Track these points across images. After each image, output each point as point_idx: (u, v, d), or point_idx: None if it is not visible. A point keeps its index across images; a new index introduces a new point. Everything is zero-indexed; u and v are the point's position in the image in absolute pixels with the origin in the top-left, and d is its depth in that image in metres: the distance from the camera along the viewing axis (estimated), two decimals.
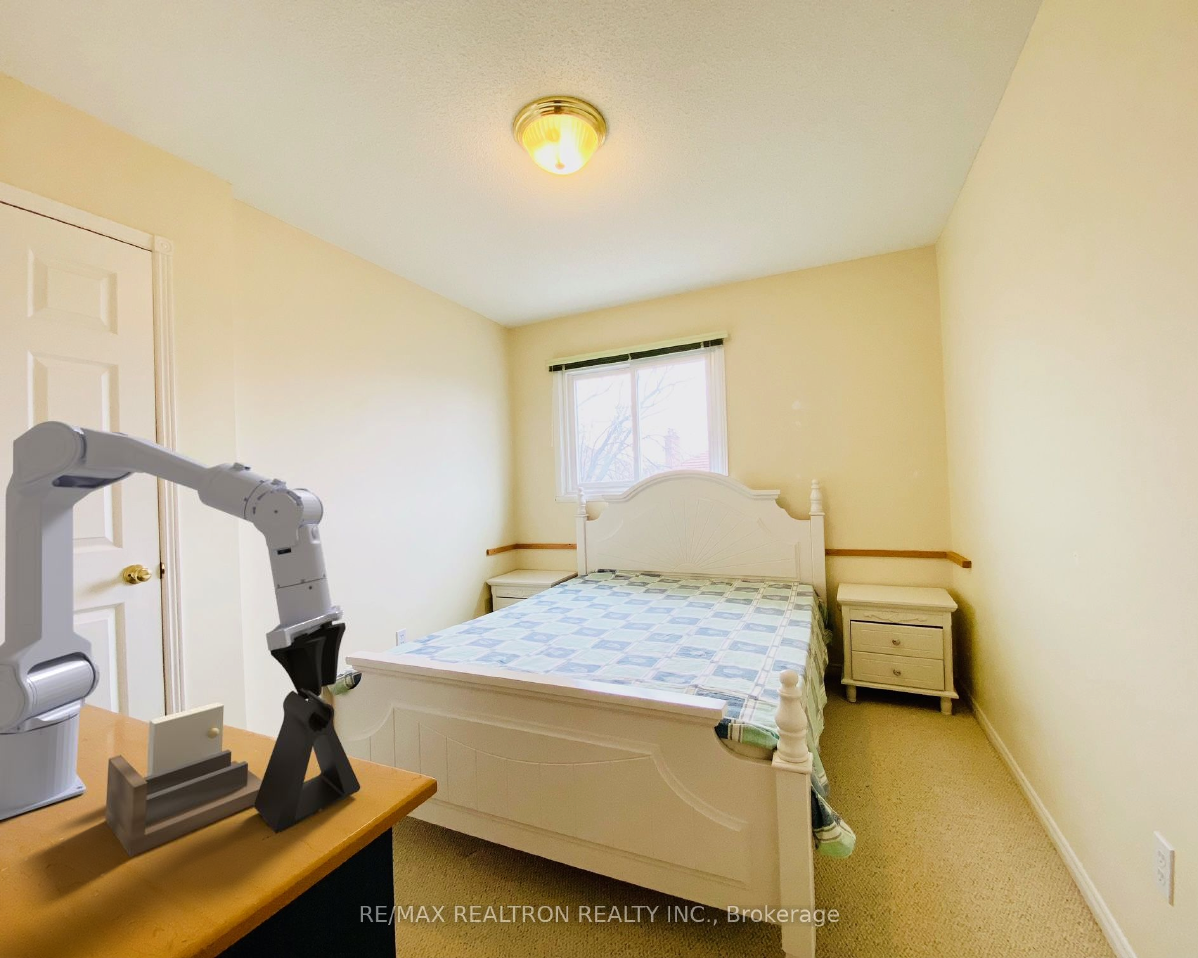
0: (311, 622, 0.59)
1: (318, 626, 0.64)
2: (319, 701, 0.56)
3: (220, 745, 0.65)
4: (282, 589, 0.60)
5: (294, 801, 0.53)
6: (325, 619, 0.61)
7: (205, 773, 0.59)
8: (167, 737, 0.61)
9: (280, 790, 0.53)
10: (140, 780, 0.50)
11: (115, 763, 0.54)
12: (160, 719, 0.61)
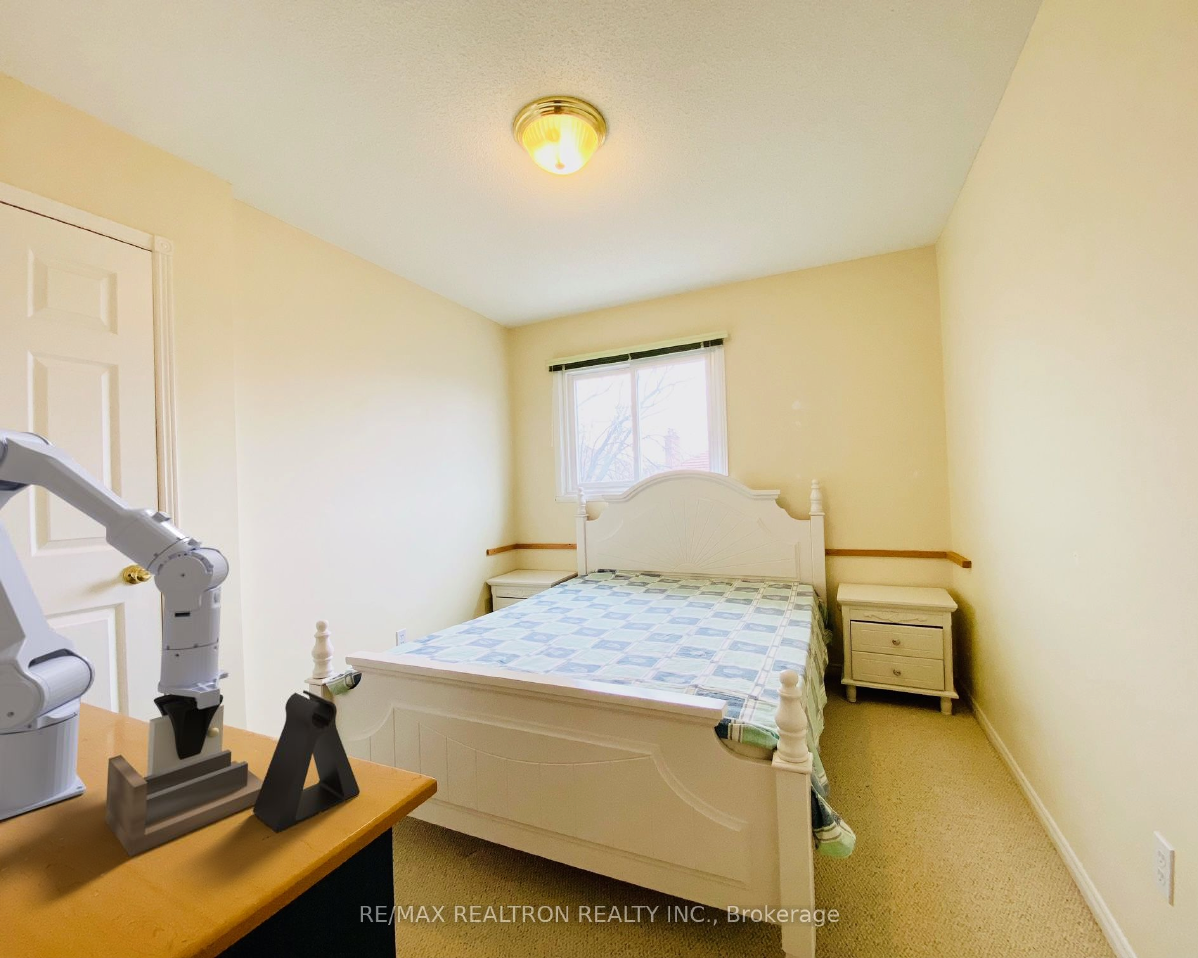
0: (218, 681, 0.64)
1: None
2: (322, 700, 0.57)
3: (220, 745, 0.65)
4: (189, 650, 0.62)
5: (295, 800, 0.53)
6: (219, 679, 0.65)
7: (205, 773, 0.59)
8: (167, 737, 0.61)
9: (281, 789, 0.54)
10: (140, 780, 0.50)
11: (115, 763, 0.54)
12: (160, 719, 0.62)
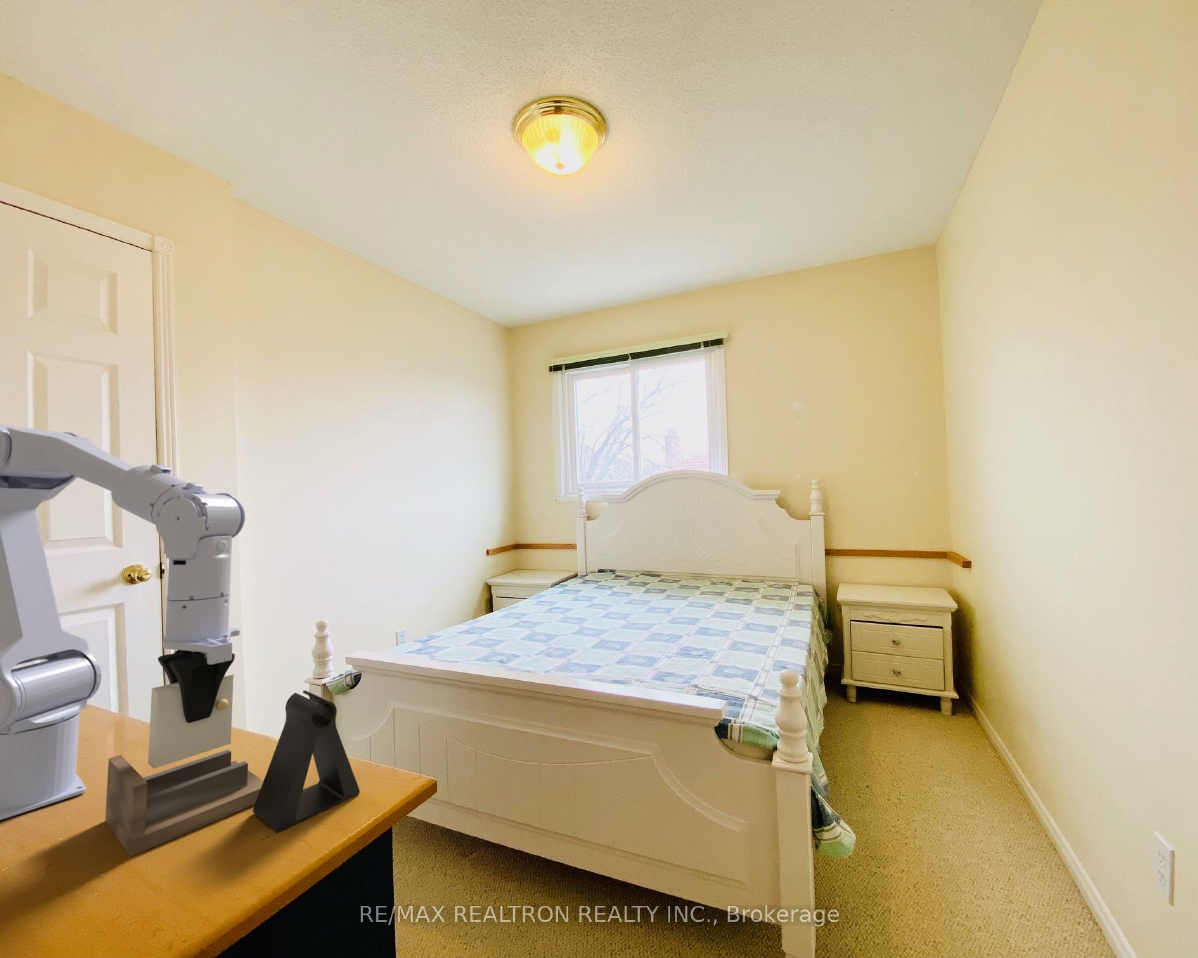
0: (229, 637, 0.58)
1: None
2: (322, 699, 0.57)
3: (229, 718, 0.59)
4: (198, 602, 0.56)
5: (295, 800, 0.53)
6: (230, 636, 0.59)
7: (205, 773, 0.59)
8: (171, 707, 0.55)
9: (282, 789, 0.54)
10: (140, 780, 0.50)
11: (115, 763, 0.54)
12: (164, 687, 0.55)
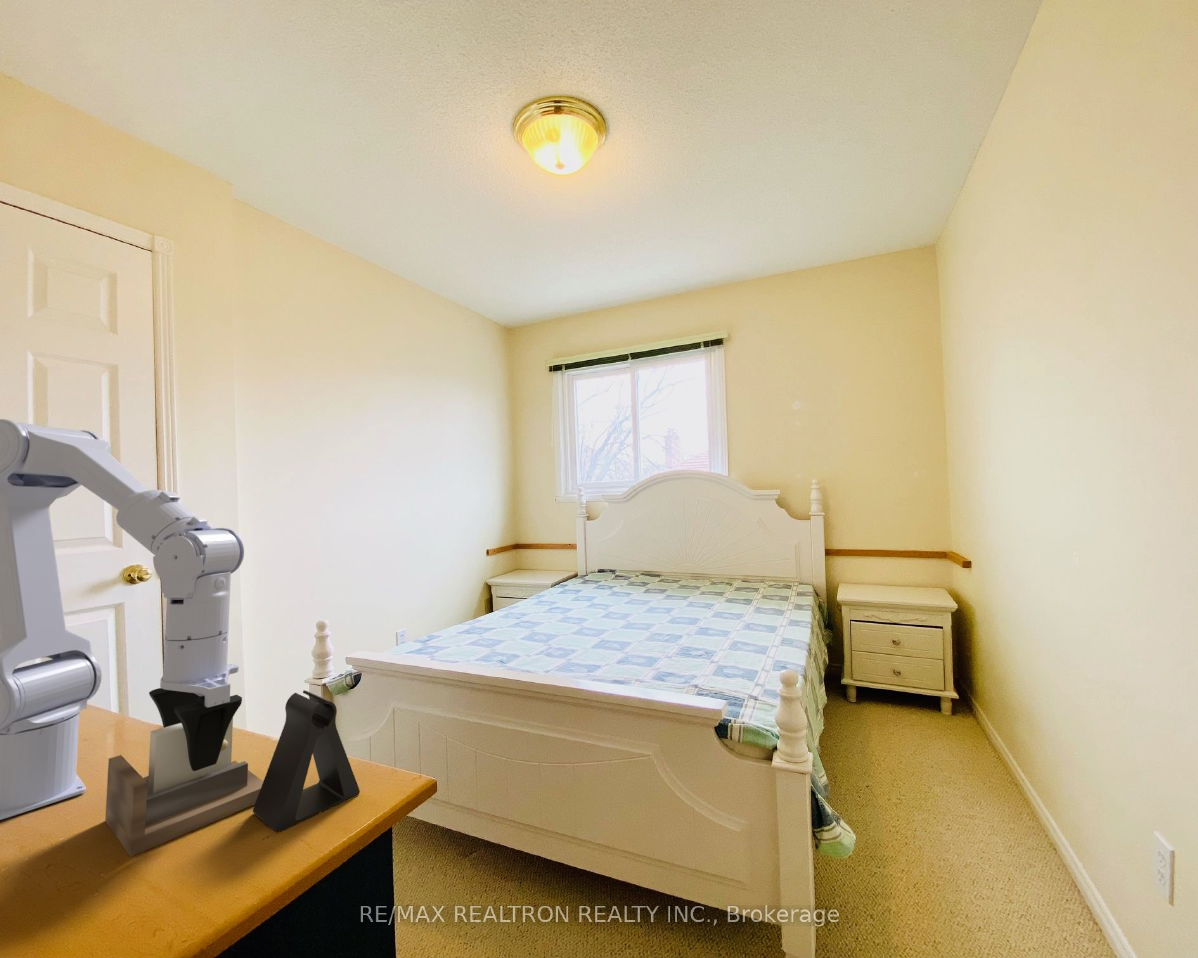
0: (227, 676, 0.57)
1: None
2: (322, 700, 0.57)
3: (229, 758, 0.59)
4: (196, 641, 0.55)
5: (295, 800, 0.53)
6: (228, 674, 0.59)
7: None
8: (170, 750, 0.54)
9: (281, 789, 0.54)
10: (140, 780, 0.50)
11: (115, 763, 0.54)
12: (162, 730, 0.55)
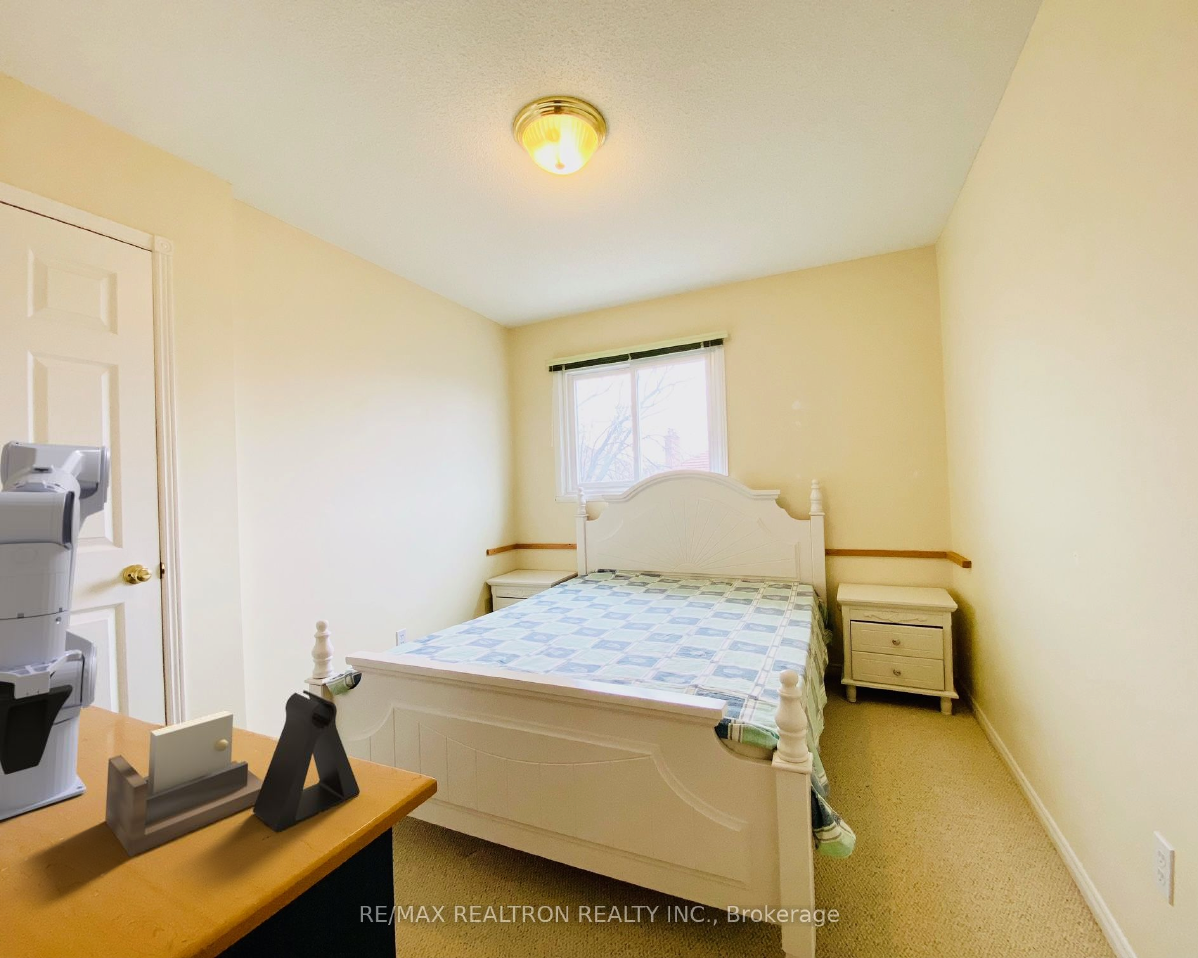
0: (58, 663, 0.48)
1: None
2: (322, 699, 0.57)
3: (229, 758, 0.59)
4: (14, 621, 0.47)
5: (295, 800, 0.53)
6: (65, 660, 0.50)
7: None
8: (170, 750, 0.54)
9: (282, 789, 0.54)
10: (140, 780, 0.50)
11: (115, 763, 0.54)
12: (162, 730, 0.55)
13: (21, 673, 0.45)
